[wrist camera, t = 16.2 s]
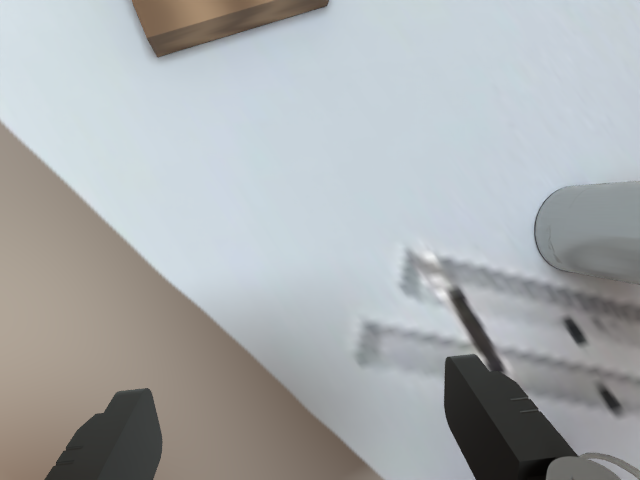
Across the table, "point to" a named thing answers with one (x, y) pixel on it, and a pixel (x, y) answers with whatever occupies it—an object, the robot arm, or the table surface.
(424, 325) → the table surface
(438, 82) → the table surface
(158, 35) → the walnut plinth
